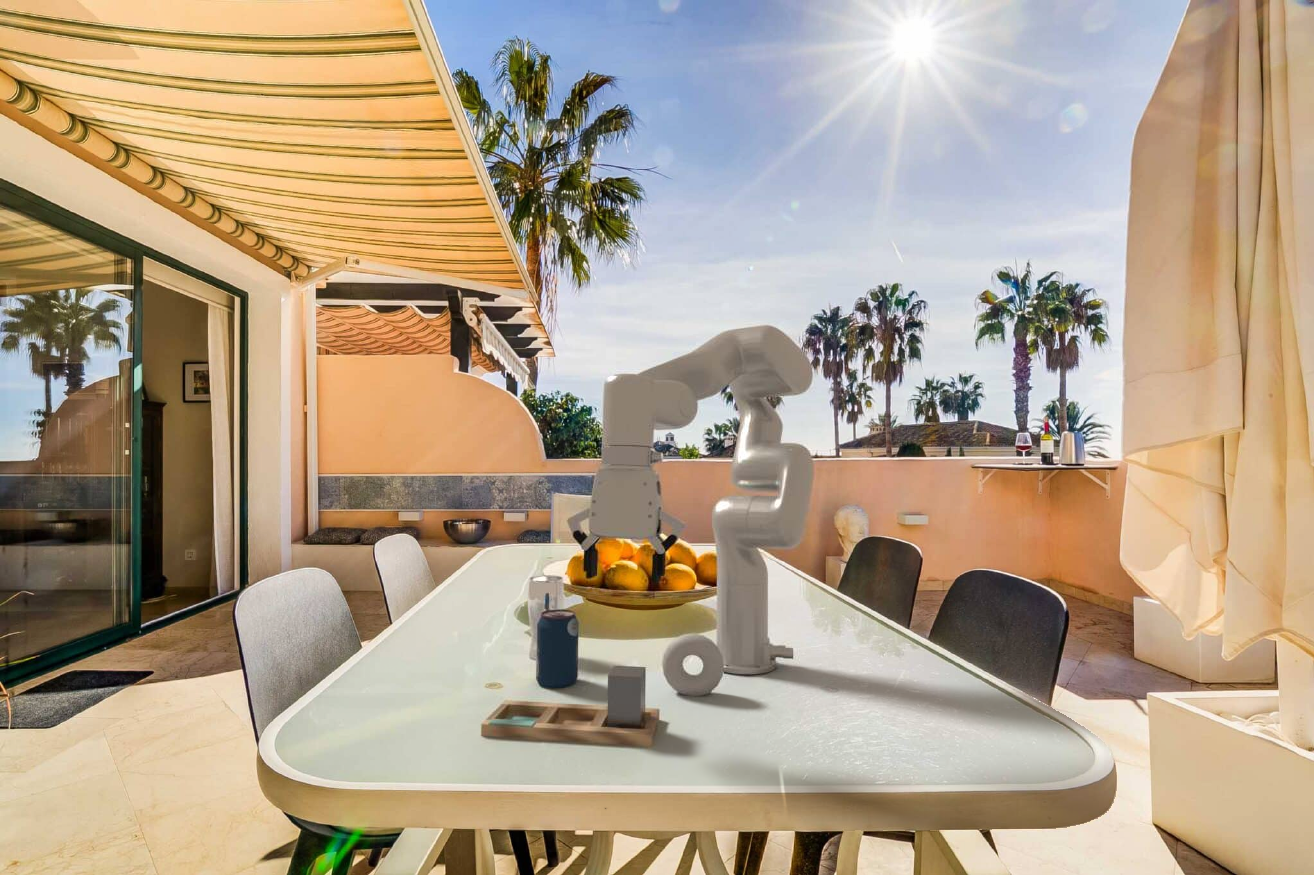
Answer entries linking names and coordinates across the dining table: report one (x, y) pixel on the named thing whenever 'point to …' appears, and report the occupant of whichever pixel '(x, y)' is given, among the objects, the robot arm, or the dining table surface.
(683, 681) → the donut
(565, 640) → the soda can
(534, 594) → the beer glass
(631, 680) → the block
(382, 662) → the dining table surface
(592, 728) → the tray
